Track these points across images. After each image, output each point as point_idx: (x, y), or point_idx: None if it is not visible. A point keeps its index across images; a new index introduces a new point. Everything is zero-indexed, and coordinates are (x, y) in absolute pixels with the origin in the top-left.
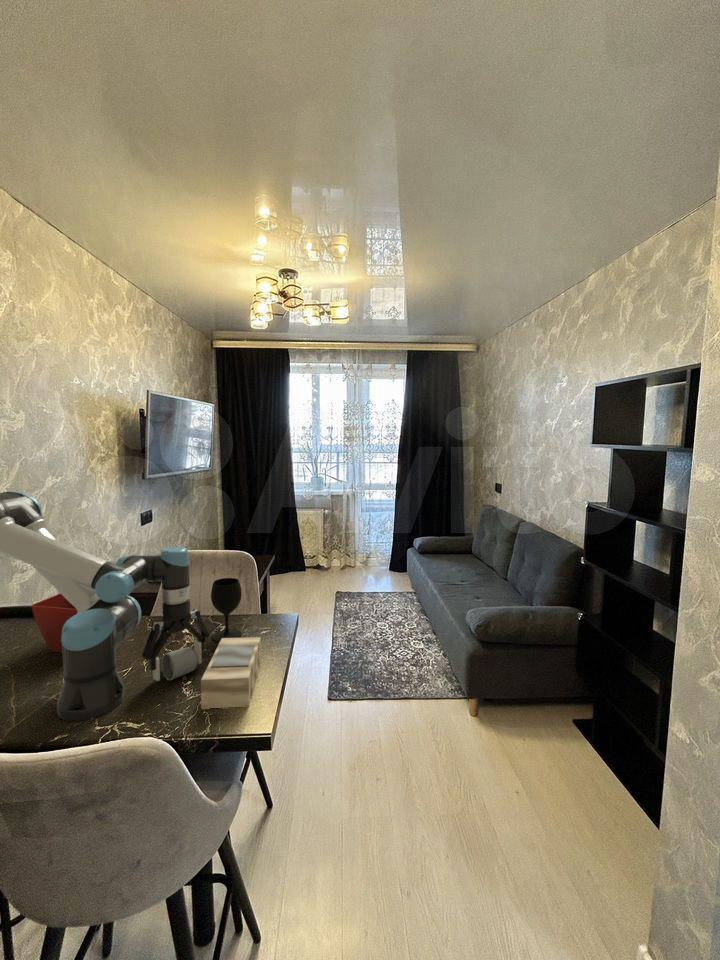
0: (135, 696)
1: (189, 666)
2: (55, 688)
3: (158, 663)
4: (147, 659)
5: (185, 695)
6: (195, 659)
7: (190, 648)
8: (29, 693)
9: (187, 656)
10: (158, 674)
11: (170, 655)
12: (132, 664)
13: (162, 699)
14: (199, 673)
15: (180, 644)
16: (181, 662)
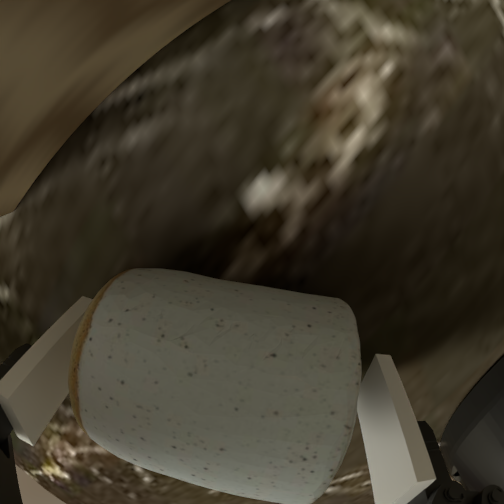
0: (487, 333)
1: (196, 284)
2: None
3: (414, 446)
4: (493, 487)
5: (396, 81)
6: (115, 296)
7: (89, 421)
8: None
9: (170, 368)
10: (393, 383)
11: (328, 475)
12: None
13: (481, 187)
14: (146, 227)
15: (96, 460)
16: (270, 347)
